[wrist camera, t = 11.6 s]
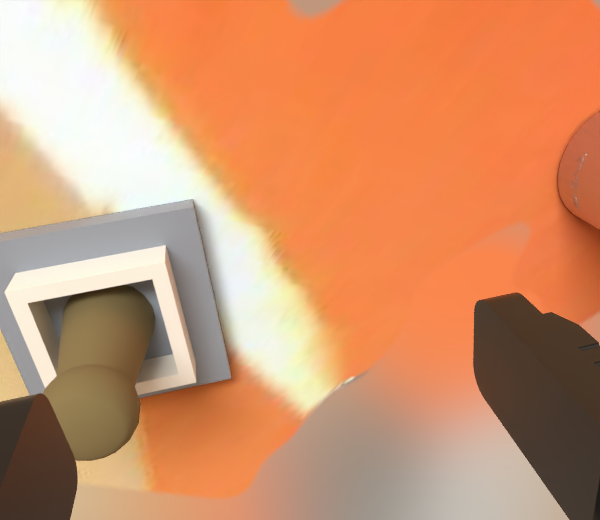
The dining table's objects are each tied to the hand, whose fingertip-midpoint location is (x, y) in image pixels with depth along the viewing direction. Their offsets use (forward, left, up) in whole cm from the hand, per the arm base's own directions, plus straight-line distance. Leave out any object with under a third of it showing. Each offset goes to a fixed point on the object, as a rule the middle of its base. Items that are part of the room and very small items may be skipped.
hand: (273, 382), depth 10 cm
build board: (+9, +13, -27) cm, 31 cm away
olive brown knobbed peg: (+9, +13, -26) cm, 30 cm away
